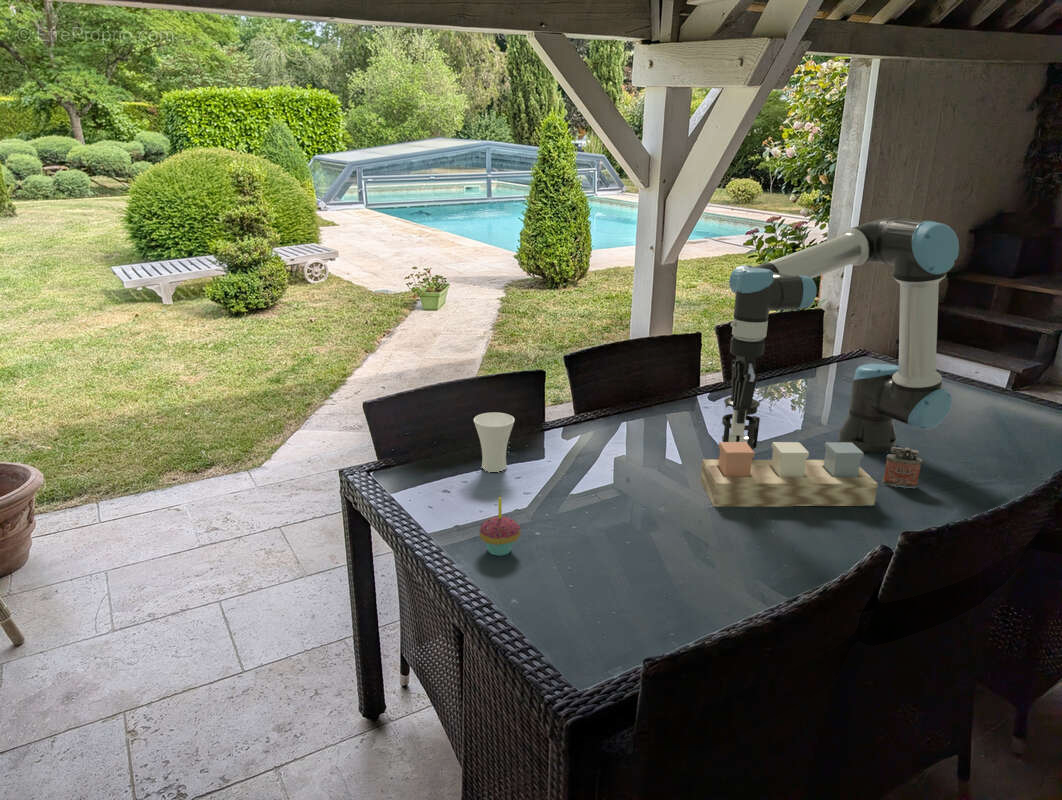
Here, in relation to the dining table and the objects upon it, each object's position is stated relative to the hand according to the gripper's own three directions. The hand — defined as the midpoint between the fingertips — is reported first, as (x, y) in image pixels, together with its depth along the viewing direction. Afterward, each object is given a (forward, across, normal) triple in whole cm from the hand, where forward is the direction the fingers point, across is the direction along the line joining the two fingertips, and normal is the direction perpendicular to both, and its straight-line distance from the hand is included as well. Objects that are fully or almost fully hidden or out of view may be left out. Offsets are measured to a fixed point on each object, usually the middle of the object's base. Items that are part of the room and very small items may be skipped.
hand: (736, 434), depth 182 cm
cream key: (+10, 0, +13) cm, 16 cm away
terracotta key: (+10, 0, 0) cm, 10 cm away
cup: (+16, -15, -58) cm, 62 cm away
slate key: (+10, 0, +26) cm, 28 cm away
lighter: (+15, -5, +44) cm, 47 cm away
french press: (+16, -20, +7) cm, 27 cm away
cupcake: (+16, +27, -56) cm, 64 cm away
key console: (+15, 0, +13) cm, 20 cm away
